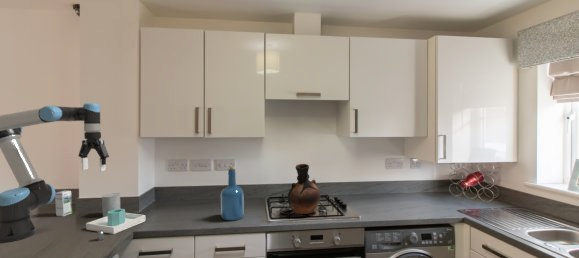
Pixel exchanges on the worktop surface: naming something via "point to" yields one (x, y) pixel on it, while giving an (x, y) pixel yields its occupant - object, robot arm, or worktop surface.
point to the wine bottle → (232, 199)
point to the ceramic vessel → (303, 192)
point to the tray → (103, 225)
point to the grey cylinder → (110, 202)
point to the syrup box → (63, 203)
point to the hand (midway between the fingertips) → (93, 170)
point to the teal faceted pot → (116, 217)
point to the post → (100, 235)
